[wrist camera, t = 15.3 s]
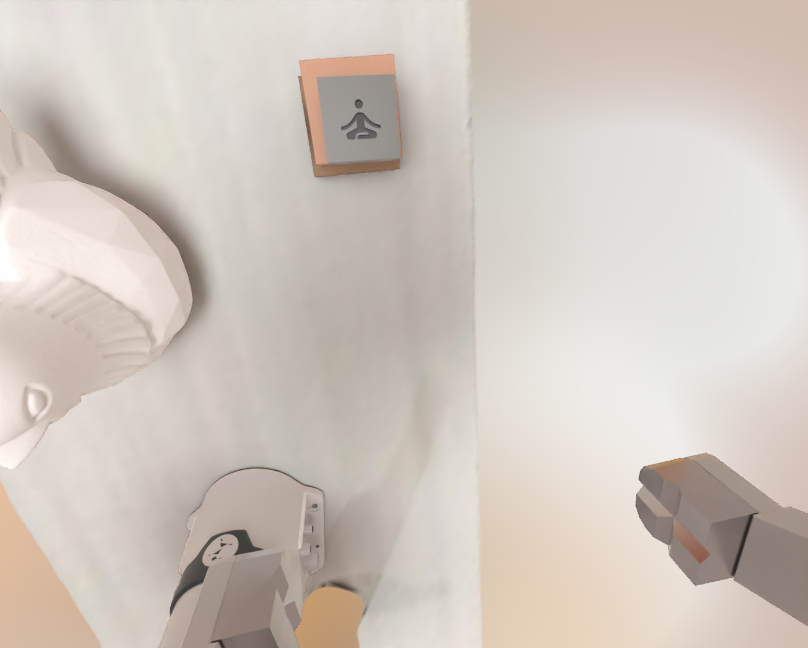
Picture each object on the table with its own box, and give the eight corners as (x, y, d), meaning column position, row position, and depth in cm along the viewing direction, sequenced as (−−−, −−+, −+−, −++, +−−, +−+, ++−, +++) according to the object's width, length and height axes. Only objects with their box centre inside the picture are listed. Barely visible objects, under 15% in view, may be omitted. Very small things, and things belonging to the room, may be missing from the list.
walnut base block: (393, 169, 40) (399, 169, 36) (318, 176, 40) (314, 176, 35) (385, 83, 37) (391, 70, 33) (304, 88, 37) (298, 76, 32)
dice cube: (330, 164, 30) (327, 162, 26) (321, 93, 28) (316, 77, 24) (391, 160, 31) (399, 158, 26) (386, 90, 29) (394, 74, 24)
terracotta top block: (394, 158, 35) (402, 155, 31) (319, 165, 35) (316, 163, 30) (387, 71, 33) (393, 53, 28) (305, 76, 32) (299, 60, 28)
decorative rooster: (214, 344, 44) (74, 524, 21) (65, 350, 42) (-270, 557, 19) (171, 101, 35) (-152, -39, 12) (-22, 92, 33) (-847, -97, 10)
